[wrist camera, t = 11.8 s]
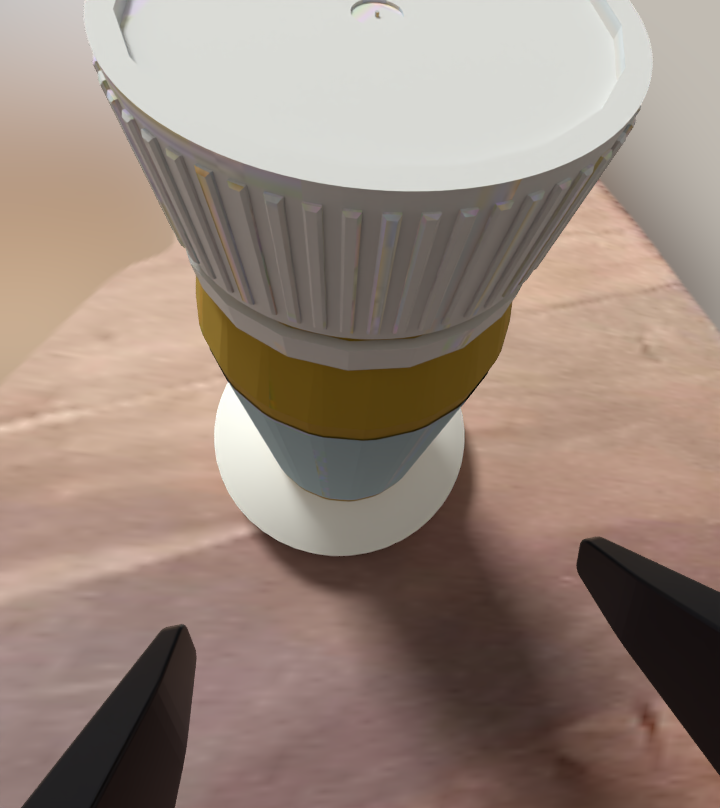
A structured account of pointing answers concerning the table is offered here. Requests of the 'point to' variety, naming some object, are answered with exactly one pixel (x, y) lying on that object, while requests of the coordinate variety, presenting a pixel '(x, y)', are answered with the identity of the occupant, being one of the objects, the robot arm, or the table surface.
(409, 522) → the round base
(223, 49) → the bottle
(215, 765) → the table surface
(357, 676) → the table surface
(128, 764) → the robot arm
